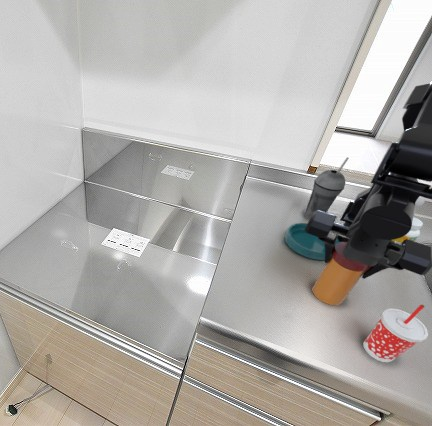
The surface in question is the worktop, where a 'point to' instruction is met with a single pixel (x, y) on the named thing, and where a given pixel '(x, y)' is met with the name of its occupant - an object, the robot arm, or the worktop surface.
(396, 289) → the worktop surface
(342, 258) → the lid
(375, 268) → the robot arm
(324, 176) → the beverage cup
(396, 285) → the worktop surface
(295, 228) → the dish
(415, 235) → the supplement bottle
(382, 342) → the beverage cup
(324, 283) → the jar
